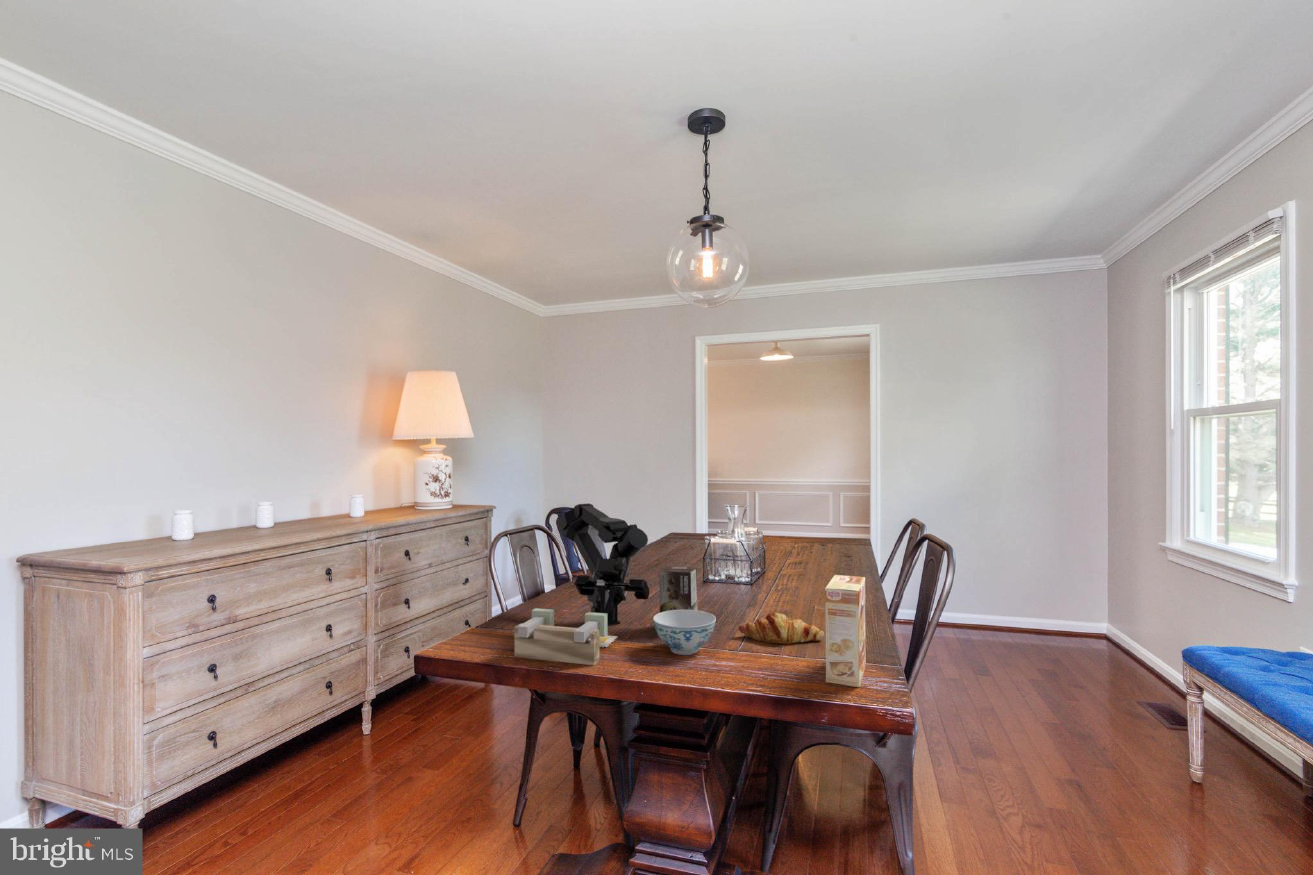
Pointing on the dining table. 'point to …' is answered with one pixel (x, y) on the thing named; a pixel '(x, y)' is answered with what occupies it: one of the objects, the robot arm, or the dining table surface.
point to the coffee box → (678, 588)
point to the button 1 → (536, 621)
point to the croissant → (781, 630)
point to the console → (557, 645)
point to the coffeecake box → (845, 630)
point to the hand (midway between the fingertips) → (603, 616)
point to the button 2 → (591, 626)
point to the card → (606, 640)
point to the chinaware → (684, 629)
